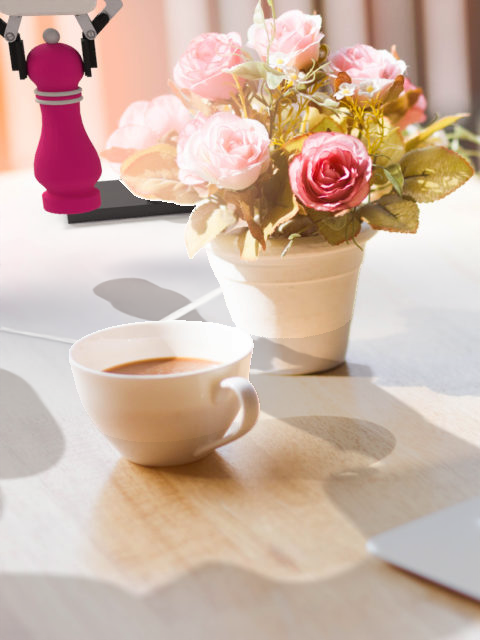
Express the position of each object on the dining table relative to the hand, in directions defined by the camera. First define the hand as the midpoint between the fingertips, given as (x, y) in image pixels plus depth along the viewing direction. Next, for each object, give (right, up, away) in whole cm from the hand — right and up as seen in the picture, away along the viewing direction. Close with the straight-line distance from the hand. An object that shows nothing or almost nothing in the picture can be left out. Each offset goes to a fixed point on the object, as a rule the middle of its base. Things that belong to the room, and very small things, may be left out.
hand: (56, 74), depth 129 cm
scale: (-2, -11, +31) cm, 33 cm away
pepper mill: (0, -14, +6) cm, 15 cm away
